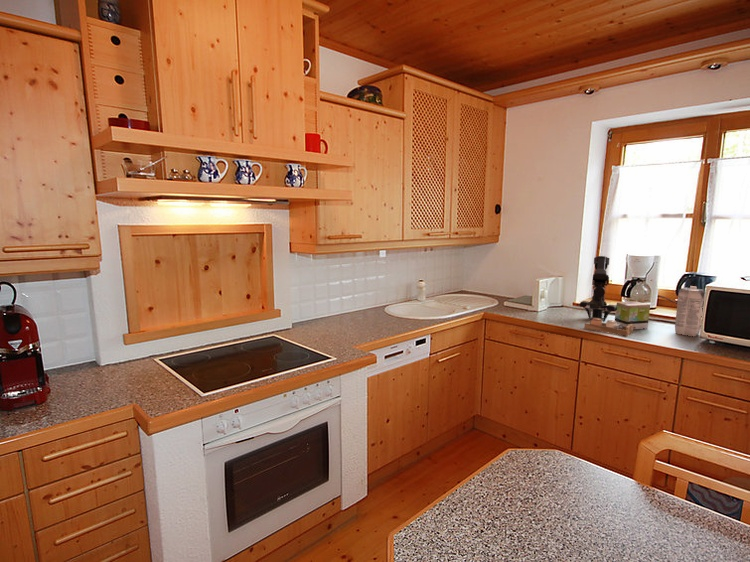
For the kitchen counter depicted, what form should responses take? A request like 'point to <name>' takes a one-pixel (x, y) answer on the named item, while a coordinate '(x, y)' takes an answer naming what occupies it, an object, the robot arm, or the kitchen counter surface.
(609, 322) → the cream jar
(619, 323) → the pusher plate
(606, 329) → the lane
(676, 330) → the juice carton
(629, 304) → the tea box
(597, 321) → the pinkish tan cube
